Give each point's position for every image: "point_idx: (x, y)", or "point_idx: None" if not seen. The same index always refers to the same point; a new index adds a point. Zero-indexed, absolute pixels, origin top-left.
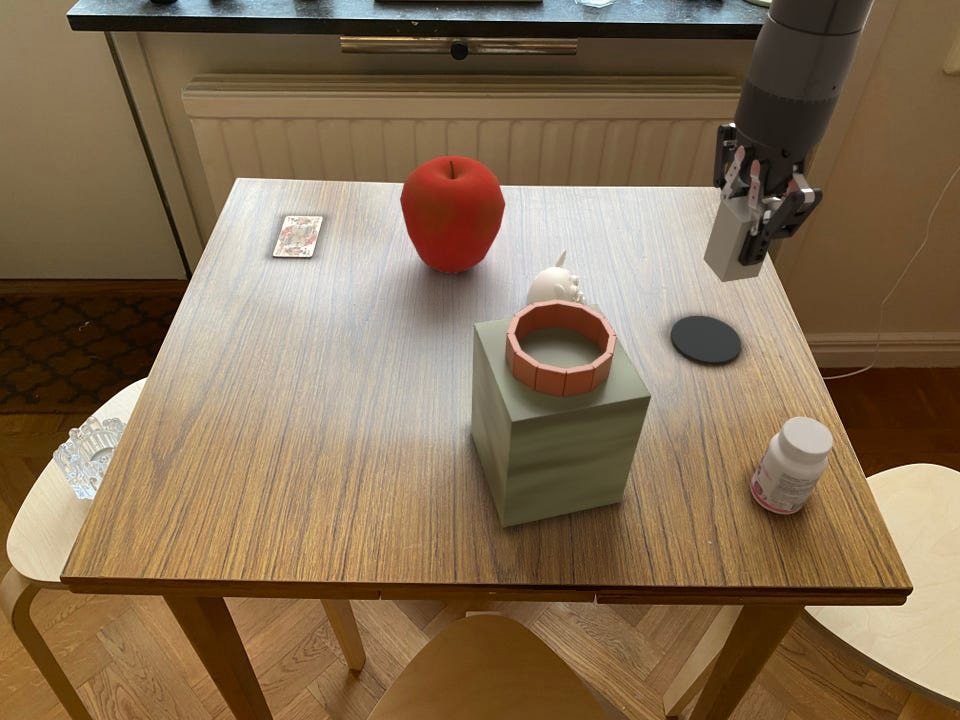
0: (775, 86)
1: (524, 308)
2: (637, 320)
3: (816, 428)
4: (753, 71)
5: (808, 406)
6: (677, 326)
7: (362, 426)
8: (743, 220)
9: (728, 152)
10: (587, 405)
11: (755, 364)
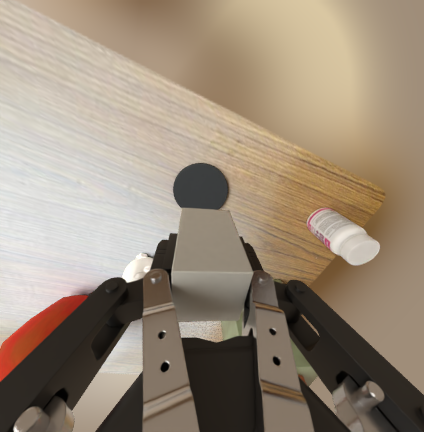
0: None
1: None
2: (165, 224)
3: (365, 246)
4: None
5: (288, 157)
6: (182, 205)
7: (201, 338)
8: (236, 318)
9: (73, 392)
10: (311, 382)
11: (237, 168)
